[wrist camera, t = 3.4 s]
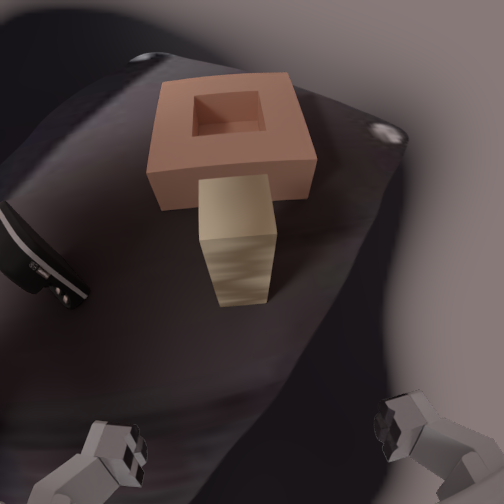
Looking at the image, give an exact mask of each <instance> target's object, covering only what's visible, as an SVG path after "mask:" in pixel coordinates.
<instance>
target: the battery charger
mask: <svg viewBox="0 0 504 504" xmlns="http://www.w3.org/2000/svg"><path fill="white" fill-rule="evenodd" d="M0 270H1V272H2V273H3V274H4V275H5V276H7V277H8V278H9V279H10V280H12V281H13V282H14V283H15V284H17V285H18V286H19V287H21V288H22V289H24V290H25V291H27V292H30V293H32V294H36V293H38V292H39V291H40V290H41V289H42V288H43V287H49V288H50V289H51V291H52V292H53V293H54V294H55V296H56V297H57V298H58V299H59V301H60V302H61V303H62V304H63V305H64V306H65V307H66V308H68V309H73V308H75V307H77V306H78V305H79V304H80V303H81V302H82V301H83V300H84V299H86V298H87V295H88V294H89V292H90V289H89V287H88V286H87V285H86V284H85V283H84V282H83V281H82V280H81V279H80V277H79V276H78V275H77V274H76V273H75V272H74V271H73V270H72V269H71V267H70V266H69V265H68V264H67V263H66V262H65V261H64V259H63V258H62V257H61V256H60V255H59V254H58V253H57V252H56V251H55V250H54V249H53V248H52V247H51V246H50V245H49V244H48V243H46V242H45V241H44V240H43V239H42V238H41V237H40V236H39V235H38V234H37V233H36V232H35V231H34V230H33V229H32V228H31V227H30V226H29V225H28V223H27V222H26V221H25V220H24V219H23V218H22V217H21V216H20V215H19V214H18V213H17V212H16V211H15V210H14V209H13V208H12V207H11V206H10V205H9V204H8V203H7V202H6V201H2V202H1V203H0Z"/></svg>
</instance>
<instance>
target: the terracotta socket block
mask: <svg viewBox="0 0 504 504" xmlns="http://www.w3.org/2000/svg"><path fill="white" fill-rule="evenodd" d="M316 163H317V156H316V153H315V150H314V147H313V144H312V141H311V137H310V134H309V131H308V128H307V125H306V122H305V119H304V116H303V114H302V111H301V108H300V105H299V102H298V99H297V97H296V94H295V91H294V88H293V86H292V83H291V80H290V77H289V75H288V73H247V74H231V75H218V76H207V77H198V78H190V79H182V80H175V81H168V82H163V83H162V87H161V92H160V97H159V101H158V106H157V111H156V117H155V122H154V127H153V133H152V139H151V145H150V151H149V157H148V164H147V171H146V174H147V177H148V179H149V182H150V184H151V187H152V189H153V191H154V194H155V196H156V199H157V201H158V204H159V206H160V208H161V211H166V210H175V209H185V208H195V207H199V180H203V179H213V178H224V177H236V176H249V175H263V174H268V180H269V186H270V192H271V198H272V201H279V200H295V199H308V195H309V191H310V187H311V183H312V179H313V175H314V171H315V167H316Z"/></svg>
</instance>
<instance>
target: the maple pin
mask: <svg viewBox="0 0 504 504" xmlns="http://www.w3.org/2000/svg"><path fill="white" fill-rule="evenodd" d="M276 239H277V229H276V223H275V216H274V210H273V204H272V198H271V192H270V186H269V180H268V174H263V175H249V176H236V177H224V178H213V179H203V180H199V241H200V245H201V248H202V251H203V255H204V258H205V261H206V264H207V267H208V271H209V274H210V277H211V280H212V283H213V286H214V290H215V293H216V296H217V299H218V302H219V305H220V307H228V306H240V305H251V304H262V303H267V298H268V291H269V285H270V278H271V272H272V265H273V259H274V252H275V246H276Z"/></svg>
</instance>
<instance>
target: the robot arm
mask: <svg viewBox="0 0 504 504" xmlns="http://www.w3.org/2000/svg"><path fill="white" fill-rule="evenodd" d="M378 409H379V411H380V412H379V413H378V414H377V415H376V416H375V420H374V430H375V434H376V437H377V439H378V440H380V441H382V442H383V443H384V444H383V447H382V450H383V452H384V454H385V456H386V459H387V461H388V462H391V461H394V460H398V459H401V458H404V457H407V456H410V458H412V459H413V460H415V461H416V462H418V463H419V464H421V465H422V466H424V467H425V468H427V469H428V470H430V471H431V472H433V473H434V474H436V475H437V476H439V477H440V478H442V479H444V480H445V481H444V482H443V484H442V485H441V486H440V487H439V489H438V490H437V492H436V494H437V496H438V498H439V500H440V502H438V503H436V504H504V454H503V452H502V451H501V449H500V448H499V446H498V445H497V444H496V442H495V441H494V439H492V438H490V437H487V436H485V435H482V434H480V433H478V432H476V431H473V430H471V429H469V428H466V427H464V426H462V425H459V424H457V423H455V422H452V421H450V420H448V419H446V418H442V419H441V418H440V417H439V416H438V414H437V413H436V411H435V410H434V408H433V407H432V405H431V404H430V402H429V401H428V399H427V398H426V397H425V395H424V394H423V392H422V391H421V390H416V391H412V392H409V393H405V394H401V395H398V396H394V397H391V398H387V399H384V400H381V401H380V402H379V405H378ZM139 432H140V430H139V428H138V426H137V425H135V424H125V423H115V422H106V421H98V420H96V421H95V422H94V423H93V424H92V426H91V429H90V431H89V434H88V437H87V439H86V442H85V444H84V447H83V450H82V452H81V454H76V455H75V456H74V457H72V458H71V459H70V460H68V461H67V462H66V463H64V464H63V465H61V466H60V467H59V468H57V469H56V470H55V471H53V472H52V473H50V474H49V475H48V476H46V477H45V478H43V479H42V480H41V481H39V482H38V483H36V484H35V485H34V487H33V490H32V492H31V495H30V497H29V500H28V503H27V504H103V503H104V502H105V501H106V500H107V499H108V498H109V497H110V496H111V495H112V494H113V492H114V491H115V490H116V489H117V488H118V487H119V485H125V486H135V487H142V482H143V477H144V471H143V469H142V468H141V467H142V466H143V465H144V464H145V463H146V461H147V445H146V442H145V440H144V438H142V437H141V436H139ZM0 504H5V503H3V502H1V501H0Z"/></svg>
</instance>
